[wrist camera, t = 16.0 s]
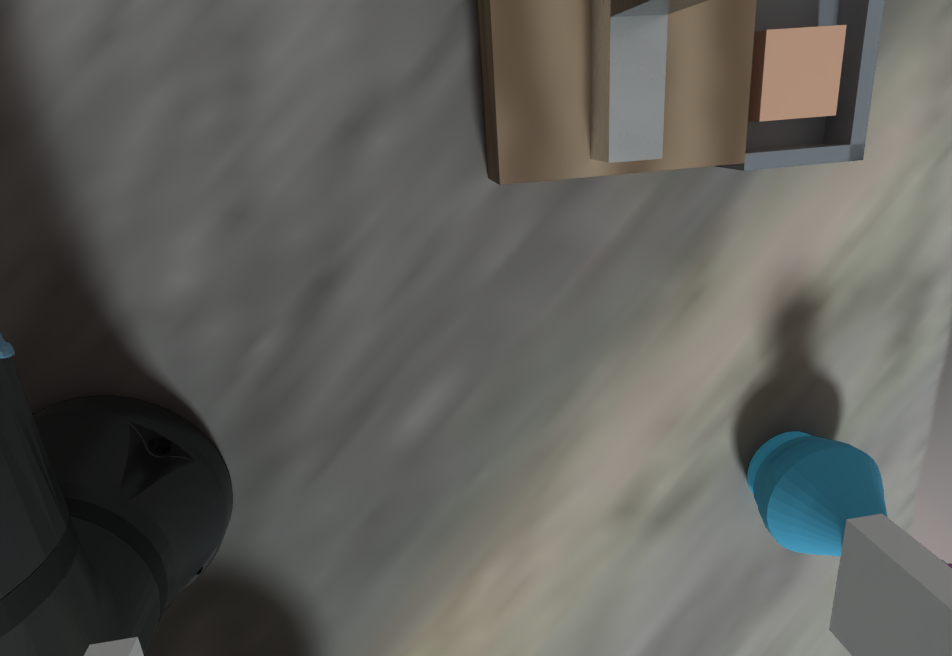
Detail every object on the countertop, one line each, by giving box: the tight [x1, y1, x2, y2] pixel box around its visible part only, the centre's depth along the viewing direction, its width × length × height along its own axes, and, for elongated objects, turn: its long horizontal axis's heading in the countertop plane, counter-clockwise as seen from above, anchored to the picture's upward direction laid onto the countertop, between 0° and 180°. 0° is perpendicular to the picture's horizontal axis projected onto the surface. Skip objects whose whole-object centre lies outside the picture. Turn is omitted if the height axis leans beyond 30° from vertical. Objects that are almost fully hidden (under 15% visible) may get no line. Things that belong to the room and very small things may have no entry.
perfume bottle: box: [747, 431, 952, 568], centre depth 43 cm, size 9×9×15 cm
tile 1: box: [748, 25, 847, 122], centre depth 38 cm, size 5×5×2 cm
